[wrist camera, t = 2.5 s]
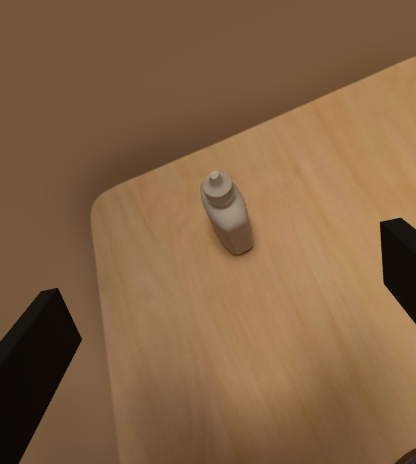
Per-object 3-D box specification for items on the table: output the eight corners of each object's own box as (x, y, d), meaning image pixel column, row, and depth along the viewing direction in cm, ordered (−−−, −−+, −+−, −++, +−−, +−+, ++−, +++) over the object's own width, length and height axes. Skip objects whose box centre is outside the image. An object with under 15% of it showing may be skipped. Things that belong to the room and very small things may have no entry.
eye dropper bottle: (254, 206, 39) (244, 141, 28) (253, 256, 37) (241, 208, 26) (214, 206, 40) (188, 144, 29) (211, 256, 38) (182, 209, 27)
